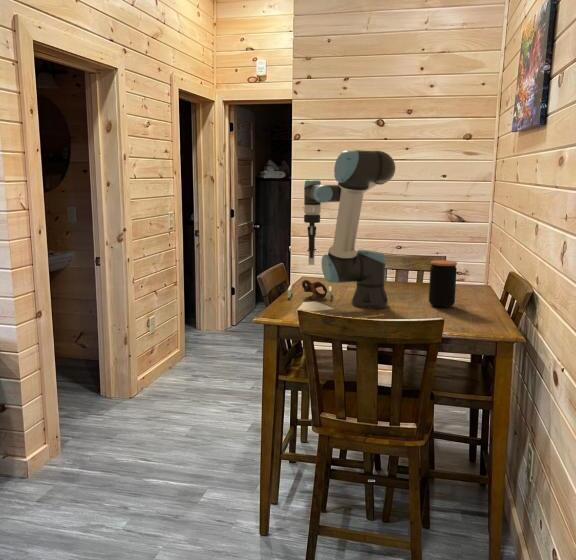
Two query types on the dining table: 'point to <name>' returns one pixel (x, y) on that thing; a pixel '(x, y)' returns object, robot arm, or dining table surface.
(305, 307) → the mat
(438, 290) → the coffee jar
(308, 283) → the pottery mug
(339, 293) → the dining table surface
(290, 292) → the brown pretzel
